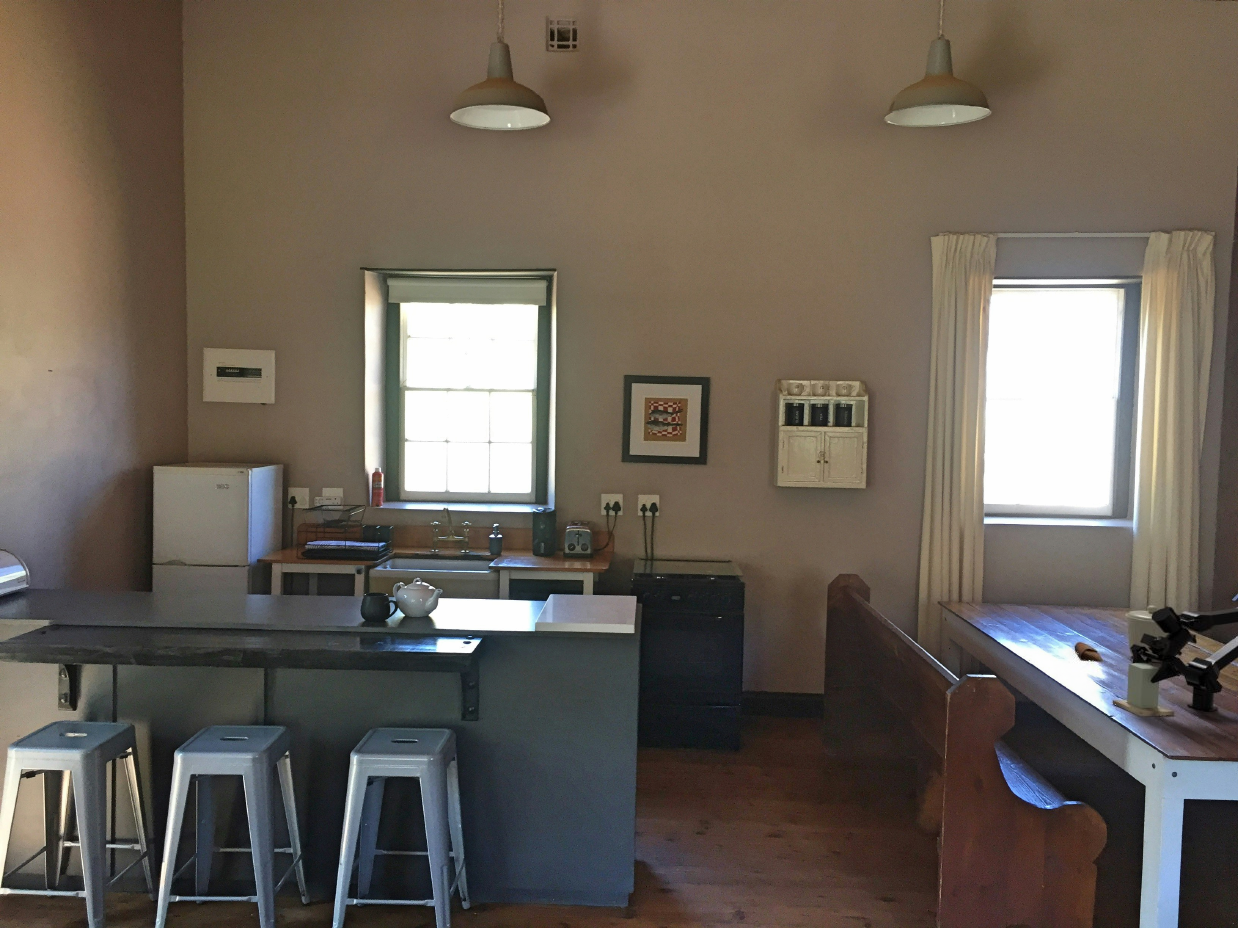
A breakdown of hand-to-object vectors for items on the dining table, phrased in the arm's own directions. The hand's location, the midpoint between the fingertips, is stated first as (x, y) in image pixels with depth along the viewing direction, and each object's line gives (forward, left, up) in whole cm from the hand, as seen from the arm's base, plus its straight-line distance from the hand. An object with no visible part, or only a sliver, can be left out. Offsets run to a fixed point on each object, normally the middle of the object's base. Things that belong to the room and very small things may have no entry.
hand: (1140, 677), depth 281 cm
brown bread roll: (-54, -48, -11) cm, 73 cm away
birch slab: (-1, +1, -11) cm, 11 cm away
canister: (-71, -34, -10) cm, 80 cm away
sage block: (-1, 0, -9) cm, 9 cm away
